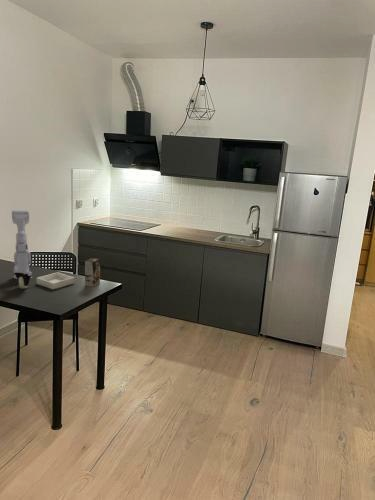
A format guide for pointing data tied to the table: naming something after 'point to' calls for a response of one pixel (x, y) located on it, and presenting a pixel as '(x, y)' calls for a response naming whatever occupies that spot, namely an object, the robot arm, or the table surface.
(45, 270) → the table surface
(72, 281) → the white bin
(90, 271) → the coffee box
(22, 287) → the sage green capsule
